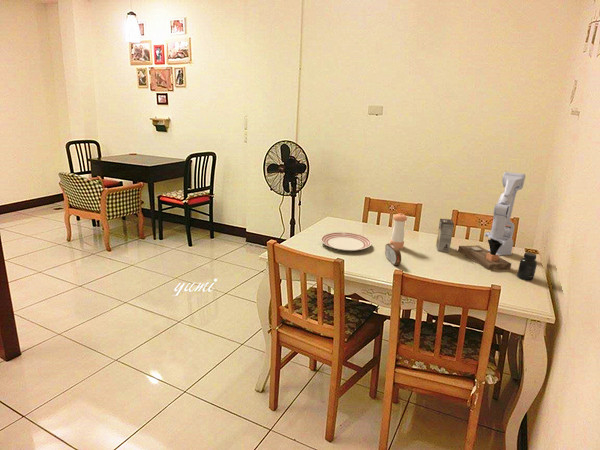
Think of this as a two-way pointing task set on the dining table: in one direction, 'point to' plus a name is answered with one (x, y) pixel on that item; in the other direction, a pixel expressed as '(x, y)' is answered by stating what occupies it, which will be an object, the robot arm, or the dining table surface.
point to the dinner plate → (346, 241)
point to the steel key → (476, 249)
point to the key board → (484, 258)
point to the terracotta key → (492, 257)
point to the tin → (393, 254)
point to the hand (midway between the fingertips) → (492, 254)
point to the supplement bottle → (527, 267)
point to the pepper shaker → (398, 230)
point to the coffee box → (444, 235)
